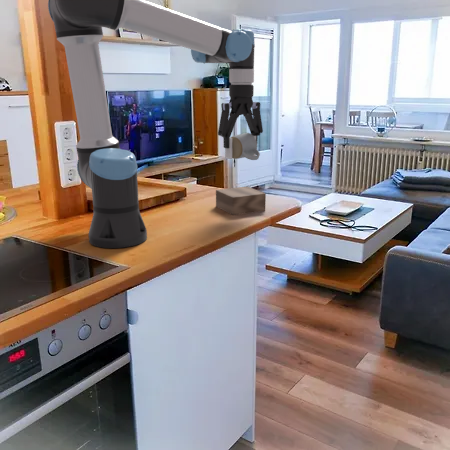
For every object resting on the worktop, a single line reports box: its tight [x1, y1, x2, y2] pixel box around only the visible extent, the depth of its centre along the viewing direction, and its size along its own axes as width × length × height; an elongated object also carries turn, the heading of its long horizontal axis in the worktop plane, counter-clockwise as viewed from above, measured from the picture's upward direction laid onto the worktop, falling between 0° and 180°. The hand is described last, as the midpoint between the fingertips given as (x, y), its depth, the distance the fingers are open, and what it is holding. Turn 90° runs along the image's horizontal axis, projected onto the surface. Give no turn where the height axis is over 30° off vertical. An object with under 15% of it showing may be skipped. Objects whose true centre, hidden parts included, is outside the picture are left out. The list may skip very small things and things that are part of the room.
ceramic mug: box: [230, 132, 261, 161], centre depth 152 cm, size 11×8×8 cm
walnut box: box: [215, 185, 267, 216], centre depth 158 cm, size 12×12×6 cm
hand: (240, 157), depth 154 cm, fingers closed on ceramic mug, 9 cm apart
